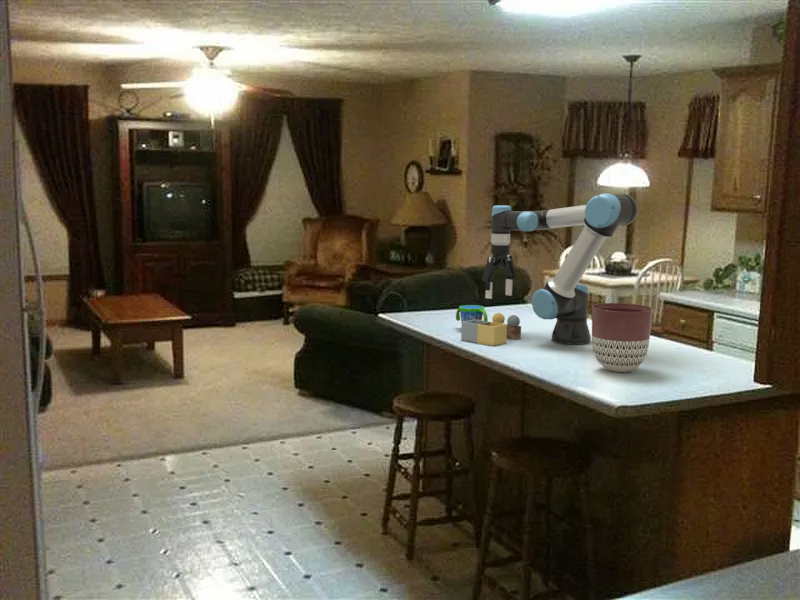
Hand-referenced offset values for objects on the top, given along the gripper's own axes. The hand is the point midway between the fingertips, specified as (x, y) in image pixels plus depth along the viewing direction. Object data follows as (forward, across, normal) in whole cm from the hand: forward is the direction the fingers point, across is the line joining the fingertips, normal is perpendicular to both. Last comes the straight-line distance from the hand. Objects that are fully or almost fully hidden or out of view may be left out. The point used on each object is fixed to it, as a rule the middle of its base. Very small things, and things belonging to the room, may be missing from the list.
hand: (498, 296), depth 334 cm
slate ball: (+12, 0, +8) cm, 14 cm away
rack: (+16, 0, +4) cm, 16 cm away
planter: (+16, +22, +66) cm, 71 cm away
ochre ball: (+12, 0, 0) cm, 12 cm away
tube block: (+16, +14, +4) cm, 22 cm away
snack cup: (+16, -2, -15) cm, 22 cm away
